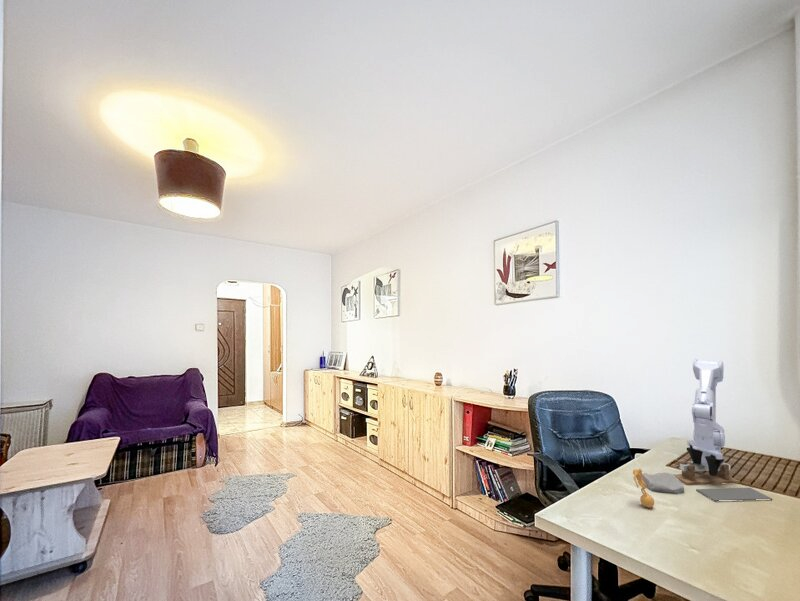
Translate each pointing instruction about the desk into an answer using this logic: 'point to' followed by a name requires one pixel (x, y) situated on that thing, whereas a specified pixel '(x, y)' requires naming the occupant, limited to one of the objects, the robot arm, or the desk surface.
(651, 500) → the figurine
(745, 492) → the mat
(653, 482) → the stone block
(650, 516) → the desk surface
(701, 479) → the wooden two-post cradle
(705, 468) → the rail
